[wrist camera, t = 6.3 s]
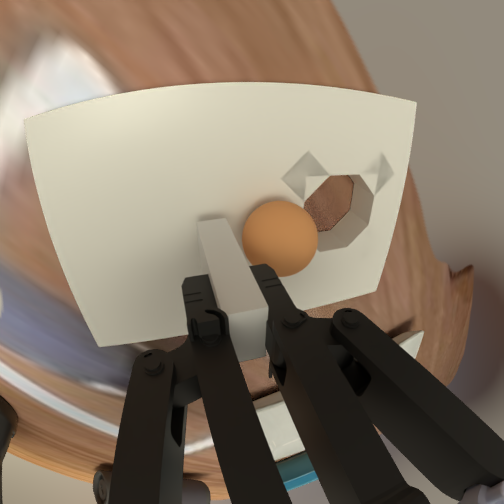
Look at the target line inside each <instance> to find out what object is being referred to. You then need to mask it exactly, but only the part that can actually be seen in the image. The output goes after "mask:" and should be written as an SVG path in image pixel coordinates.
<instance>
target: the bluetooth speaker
mask: <svg viewBox="0 0 504 504" xmlns="http://www.w3.org/2000/svg"><path fill="white" fill-rule="evenodd" d="M111 476H112V471H103V470H99V471H97V472H96V473H95V475H94V480H93V492H94V495H95V498H96V502H97V504H108V500H109V492H110V484H111ZM182 504H210V491H209V488H208V487H207V485H206V484H205V483H204V482H202V481H198V480H191V479H183V484H182Z"/></svg>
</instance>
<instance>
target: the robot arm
mask: <svg viewBox="0 0 504 504" xmlns="http://www.w3.org/2000/svg"><path fill="white" fill-rule="evenodd" d="M196 225H197V235H198V244H199V253H200V262H201V269H202V272H203V275H198V276H192V277H186V278H185V279H184V281H183V283H182V286H181V287H182V294H183V300H184V306H185V312H186V318H187V329H188V337H187V339H186V341H185V342H184V343H183V344H182V345H181V346H180V347H178V348H177V349H175V350H173V351H171V352H168V353H166V352H165V351H162V350H158V349H154V350H148V351H146V352H143V353H142V354H140V355H139V356H138V357H137V358H136V360H135V362H134V365H133V369H132V373H131V377H130V381H129V385H128V390H127V394H126V399H125V403H124V408H123V413H122V418H121V423H120V428H119V434H118V439H117V445H116V450H115V457H114V463H113V469H112V476H111V484H110V492H109V500H108V504H182V484H183V463H184V446H185V431H186V418H187V406H188V404H190V403H192V402H194V401H196V400H197V399H199V398H201V397H202V399H203V403H204V407H205V412H206V416H207V420H208V424H209V427H210V431H211V435H212V439H213V443H214V446H215V450H216V453H217V457H218V461H219V464H220V467H221V471H222V474H223V477H224V481H225V484H226V487H227V490H228V493H229V497H230V499H231V503H232V504H292V502H291V500H290V497H289V495H288V493H287V490H286V488H285V485H284V483H283V480H282V478H281V475H280V473H279V470H278V468H277V465H276V463H275V460H274V458H273V455H272V452H271V450H270V447H269V445H268V442H267V439H266V437H265V434H264V431H263V429H262V426H261V423H260V421H259V418H258V415H257V412H256V410H255V407H254V404H253V401H252V399H251V396H250V393H249V390H248V387H247V384H246V381H245V379H244V376H243V373H242V370H241V367H240V364H239V362H243V361H247V360H252V359H256V358H260V357H265V356H266V349H267V352H268V354H269V357H270V362H269V378H272V373H273V376H274V378H275V380H276V383H277V385H278V388H279V390H280V392H281V395H282V397H283V399H284V402H285V404H286V407H287V409H288V411H289V414H290V416H291V418H292V421H293V423H294V425H295V427H296V430H297V432H298V434H299V437H300V439H301V441H302V443H303V446H304V448H305V450H306V453H307V455H308V457H309V459H310V462H311V464H312V466H313V468H314V470H315V473H316V475H317V477H318V479H319V481H320V484H321V486H322V488H323V490H324V492H325V494H326V497H327V499H328V501H329V503H330V504H430V502H429V500H428V499H427V497H426V496H425V495H424V493H423V492H422V491H420V490H419V489H417V488H414V487H412V486H409V485H408V484H407V483H406V481H405V480H404V478H403V477H402V475H401V473H400V471H399V469H398V468H397V466H396V464H395V462H394V461H393V459H392V457H391V455H390V453H389V452H388V450H387V448H386V446H385V445H384V443H383V441H382V439H381V438H380V436H379V434H378V432H377V431H376V429H375V427H374V425H375V426H376V427H377V428H378V429H379V430H380V431H381V432H382V433H383V435H384V436H385V437H386V438H387V439H388V440H389V441H390V442H391V443H392V444H393V445H394V446H395V447H396V448H397V449H398V450H399V451H400V452H401V453H402V454H403V455H404V456H405V457H406V458H407V459H408V460H409V461H410V462H411V463H412V464H413V465H414V466H415V467H416V468H417V469H418V470H419V471H420V472H421V473H422V474H423V475H424V476H425V477H426V478H427V479H428V480H429V481H430V482H431V483H432V484H433V485H434V486H435V487H437V488H438V489H439V490H440V491H441V492H443V493H444V494H446V495H448V496H449V497H451V498H453V499H455V500H458V501H460V502H459V503H458V504H504V441H503V440H502V439H501V438H500V437H499V436H498V435H497V434H496V433H495V432H494V431H493V430H492V429H491V428H490V427H489V426H488V425H486V424H485V423H484V422H483V421H482V420H481V419H480V418H479V417H478V416H477V415H476V414H475V413H474V412H473V411H472V410H471V409H469V408H468V407H467V406H466V405H465V404H464V403H463V402H462V401H461V400H460V399H459V398H457V397H456V396H455V395H454V394H453V393H452V392H451V391H450V390H449V389H447V388H446V387H445V386H444V385H443V384H442V383H441V382H440V381H439V380H438V379H437V378H435V377H434V376H433V375H432V374H431V373H430V372H429V371H428V370H427V369H425V368H424V367H423V366H422V365H421V364H420V363H419V362H418V361H416V360H415V359H414V358H413V357H412V356H411V355H410V354H409V353H407V352H406V351H405V350H404V349H403V348H402V347H401V346H399V345H398V344H397V343H396V342H395V341H394V340H393V339H391V338H390V337H389V336H388V335H387V334H386V333H384V332H383V331H382V330H381V329H380V328H379V327H378V326H376V325H375V324H374V323H373V322H372V321H371V320H369V319H368V318H367V317H366V316H365V315H364V314H362V313H361V312H359V311H358V310H355V309H351V308H343V309H340V310H338V311H336V312H335V313H334V315H333V318H312V317H309V316H308V315H307V313H306V312H304V311H302V310H300V309H297V308H296V306H295V305H294V303H293V301H292V299H291V298H290V296H289V294H288V293H287V291H286V289H285V287H284V286H283V285H282V282H281V281H280V279H279V278H278V276H277V274H276V272H275V270H274V269H273V268H271V267H270V266H268V265H267V264H266V263H265V264H259V265H253V266H249V265H248V263H247V261H246V259H245V257H244V255H243V253H242V251H241V249H240V247H239V245H238V243H237V240H236V238H235V236H234V234H233V232H232V230H231V228H230V226H229V224H228V222H227V220H226V218H222V219H214V220H207V221H200V222H196ZM372 423H373V424H374V425H373V424H372ZM16 428H17V415H16V413H15V411H14V410H13V409H12V407H11V406H10V405H9V404H8V403H7V402H6V401H5V400H4V399H2V398H1V397H0V504H3V503H2V462H3V459H4V457H5V454H6V452H7V449H8V447H9V444H10V440H11V438H13V437H14V435H15V433H16Z"/></svg>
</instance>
